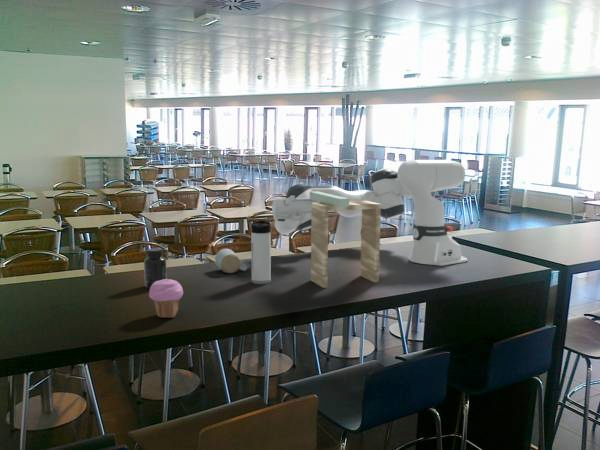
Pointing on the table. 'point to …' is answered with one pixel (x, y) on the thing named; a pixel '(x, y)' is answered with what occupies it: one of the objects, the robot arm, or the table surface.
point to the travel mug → (261, 252)
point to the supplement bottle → (154, 267)
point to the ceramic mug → (229, 261)
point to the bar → (329, 199)
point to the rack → (368, 240)
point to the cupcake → (166, 297)
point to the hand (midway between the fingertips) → (305, 197)
